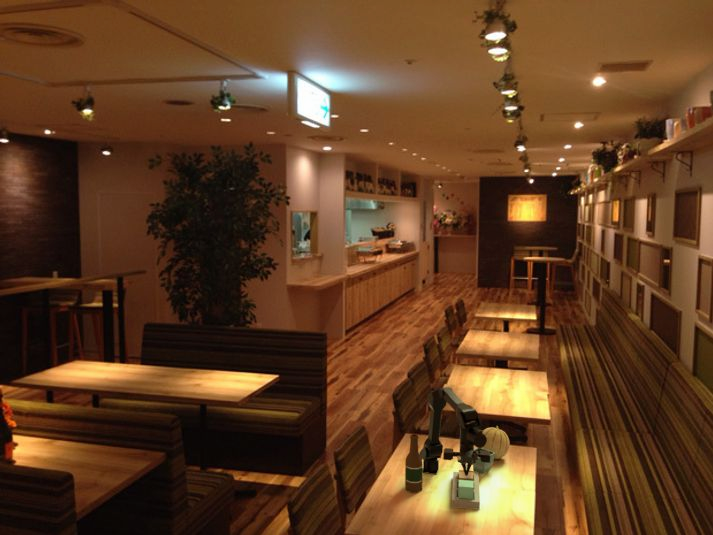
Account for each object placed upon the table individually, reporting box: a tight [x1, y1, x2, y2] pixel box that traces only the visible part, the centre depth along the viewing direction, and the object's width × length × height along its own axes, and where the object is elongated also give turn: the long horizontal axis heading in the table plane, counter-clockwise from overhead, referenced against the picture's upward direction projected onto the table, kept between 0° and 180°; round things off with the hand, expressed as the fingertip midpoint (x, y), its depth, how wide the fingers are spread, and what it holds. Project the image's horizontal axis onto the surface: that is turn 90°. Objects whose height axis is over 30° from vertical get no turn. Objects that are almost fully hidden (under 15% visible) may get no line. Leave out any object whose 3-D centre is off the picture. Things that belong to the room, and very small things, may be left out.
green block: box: [457, 480, 474, 500], centre depth 258 cm, size 6×6×5 cm
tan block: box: [458, 470, 474, 482], centre depth 266 cm, size 6×6×5 cm
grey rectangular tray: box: [451, 471, 481, 510], centre depth 267 cm, size 11×26×3 cm, turn 170°
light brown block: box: [458, 463, 474, 473], centre depth 274 cm, size 6×6×5 cm
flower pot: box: [472, 447, 495, 475], centre depth 287 cm, size 9×9×9 cm
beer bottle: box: [404, 433, 424, 494], centre depth 269 cm, size 8×8×24 cm
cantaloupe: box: [482, 425, 511, 460], centre depth 301 cm, size 15×15×15 cm
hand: (466, 475), depth 258 cm, fingers closed
